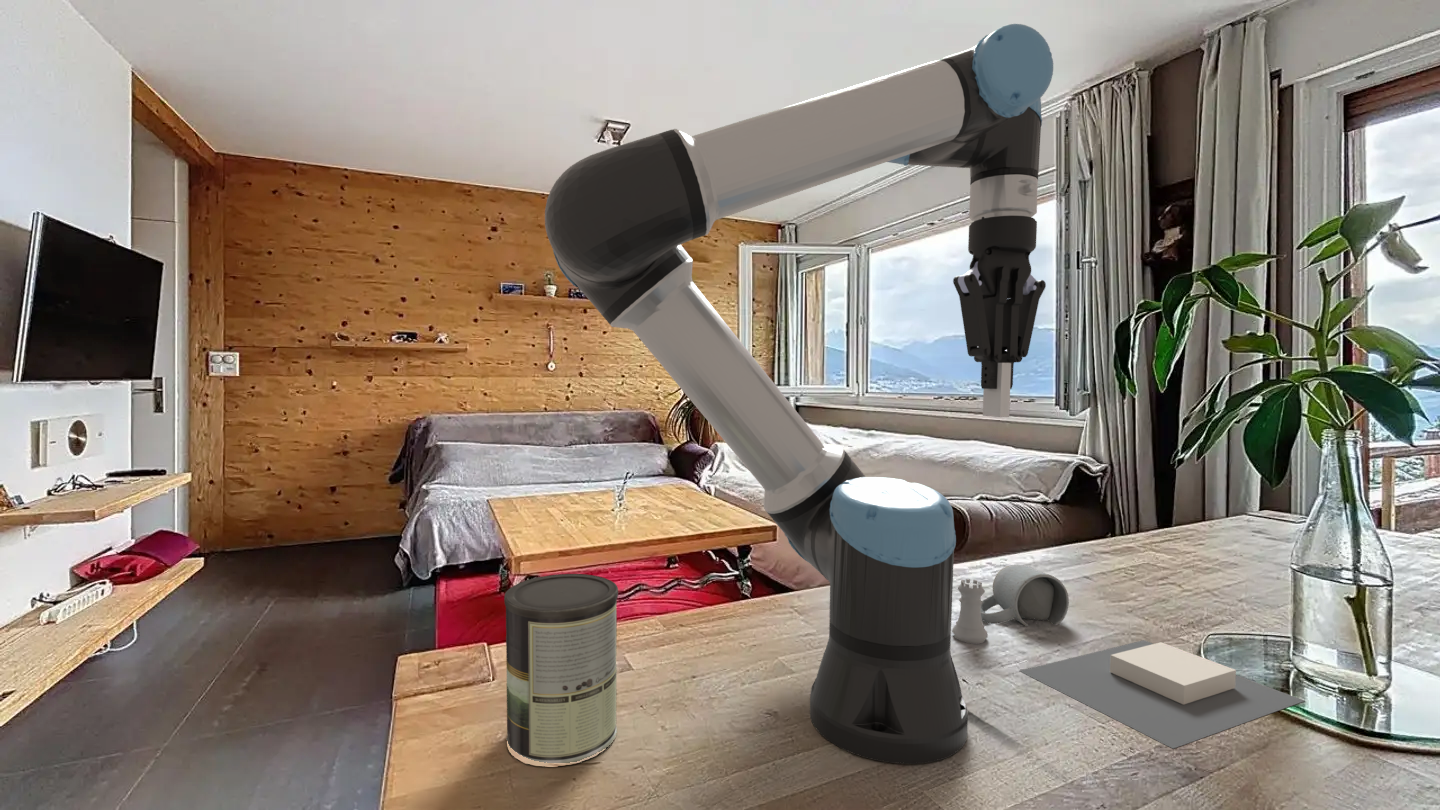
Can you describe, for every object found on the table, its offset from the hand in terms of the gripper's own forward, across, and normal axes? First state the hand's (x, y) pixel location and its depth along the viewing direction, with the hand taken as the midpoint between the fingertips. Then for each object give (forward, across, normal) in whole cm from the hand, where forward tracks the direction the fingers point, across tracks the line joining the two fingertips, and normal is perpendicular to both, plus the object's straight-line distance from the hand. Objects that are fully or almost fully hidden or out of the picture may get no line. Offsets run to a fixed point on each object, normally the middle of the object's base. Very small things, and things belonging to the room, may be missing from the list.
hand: (995, 416), depth 81 cm
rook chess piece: (+30, 0, +3) cm, 30 cm away
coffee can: (+30, -52, +2) cm, 60 cm away
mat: (+29, +9, -15) cm, 34 cm away
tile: (+28, +7, -15) cm, 32 cm away
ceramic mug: (+30, +12, +6) cm, 33 cm away
